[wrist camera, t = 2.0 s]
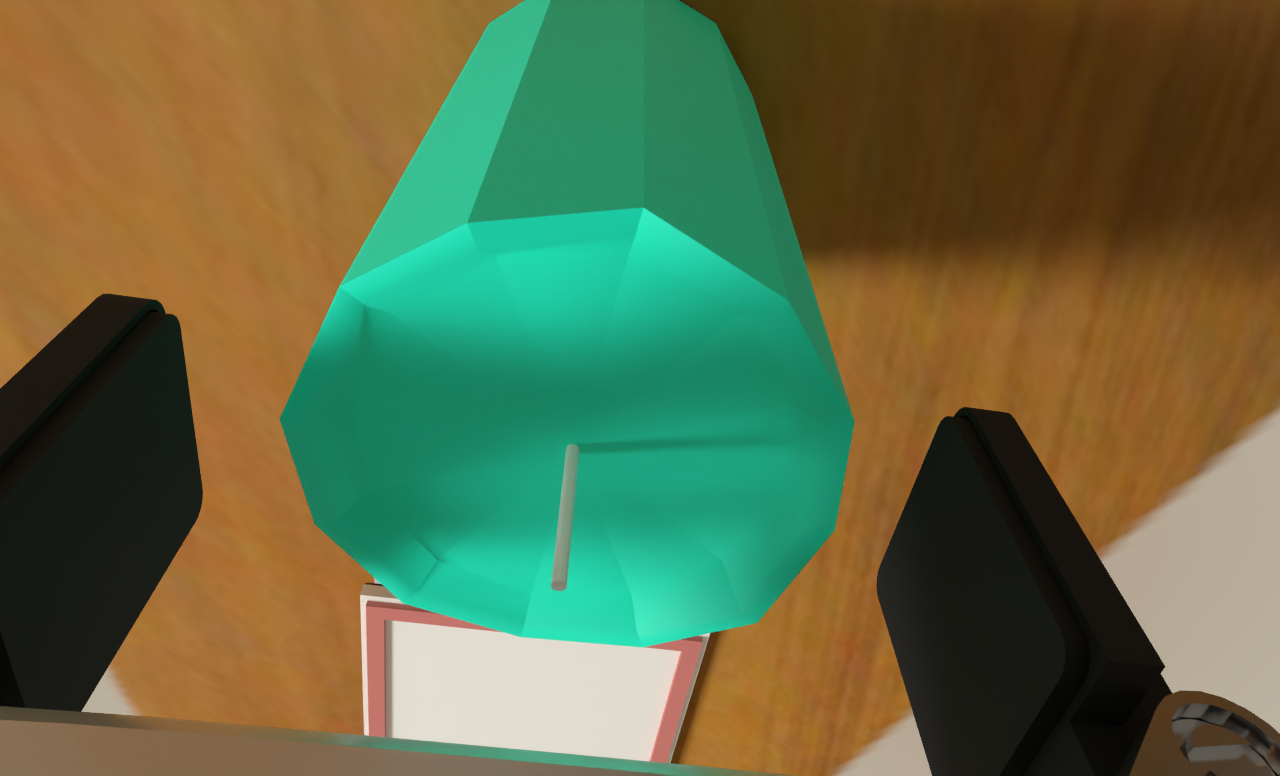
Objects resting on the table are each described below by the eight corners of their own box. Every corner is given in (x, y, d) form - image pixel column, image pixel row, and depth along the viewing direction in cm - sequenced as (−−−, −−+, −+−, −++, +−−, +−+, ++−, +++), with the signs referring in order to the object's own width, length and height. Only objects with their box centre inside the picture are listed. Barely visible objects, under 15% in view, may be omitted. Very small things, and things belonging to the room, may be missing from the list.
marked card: (363, 584, 26) (358, 600, 25) (709, 621, 27) (710, 638, 26) (368, 780, 31) (364, 797, 31) (653, 806, 32) (653, 823, 32)
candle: (816, 133, 18) (1019, 586, 8) (609, 316, 21) (577, 832, 11) (599, -105, 16) (523, 135, 6) (393, 134, 18) (99, 585, 8)
